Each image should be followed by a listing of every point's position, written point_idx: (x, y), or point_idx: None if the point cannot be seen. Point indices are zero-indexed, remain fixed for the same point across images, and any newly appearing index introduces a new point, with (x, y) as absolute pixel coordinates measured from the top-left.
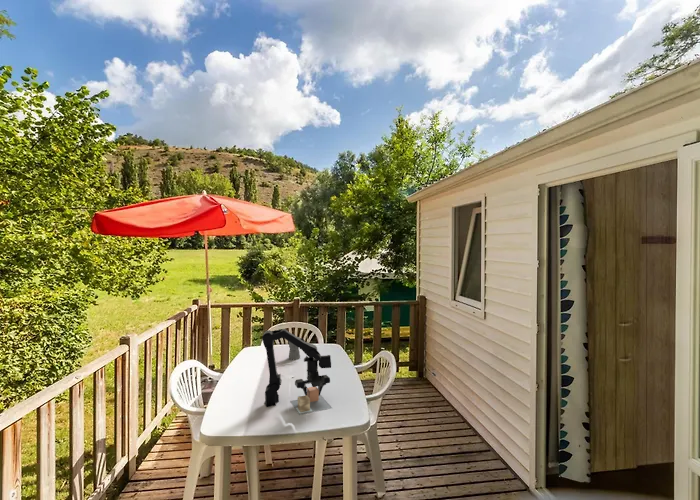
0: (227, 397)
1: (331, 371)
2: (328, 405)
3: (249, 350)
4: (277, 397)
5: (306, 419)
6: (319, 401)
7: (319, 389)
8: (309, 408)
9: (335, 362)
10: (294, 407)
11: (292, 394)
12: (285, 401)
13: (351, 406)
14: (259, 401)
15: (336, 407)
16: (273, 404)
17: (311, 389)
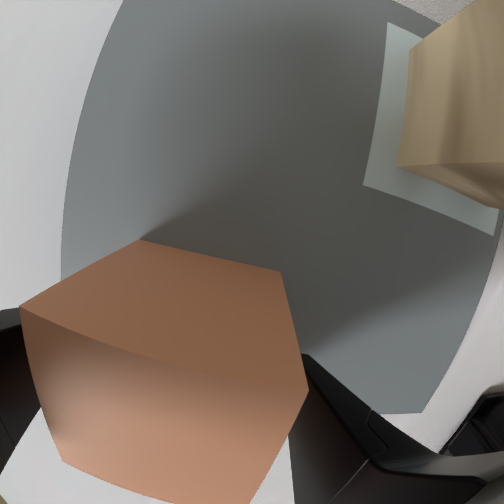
0: None
1: (12, 477)
2: (129, 23)
3: None
4: (494, 442)
5: (460, 4)
6: (147, 196)
7: (20, 346)
8: (426, 43)
9: (7, 489)
10: (493, 253)
11: (289, 494)
12: (413, 432)
13: (15, 6)
14: None
15: (86, 9)
16: (501, 401)
17: (195, 441)
